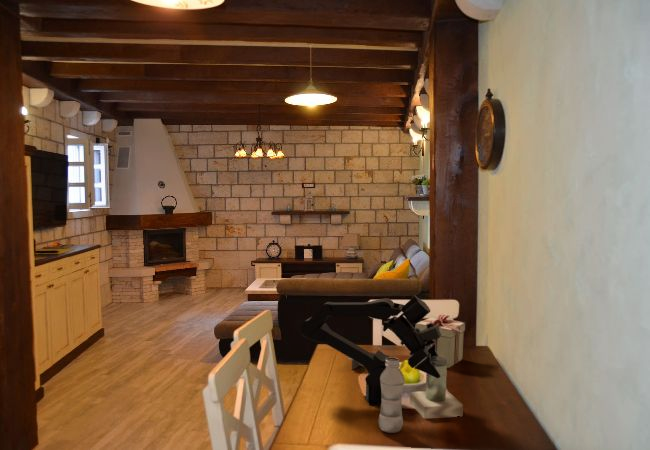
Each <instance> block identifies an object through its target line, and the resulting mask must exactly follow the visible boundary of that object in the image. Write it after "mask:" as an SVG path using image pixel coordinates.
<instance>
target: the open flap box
mask: <svg viewBox="0 0 650 450" xmlns="http://www.w3.org/2000/svg"><path fill="white" fill-rule="evenodd" d="M348 360H351V370H352V371H353V370H355V369H357V368H358V367H364V366H363V365H362V364H360V363H358V362H356V361H355V360H353V359H351V358H350V357H348Z"/></svg>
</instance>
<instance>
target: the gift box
mask: <svg viewBox="0 0 650 450" xmlns="http://www.w3.org/2000/svg"><path fill="white" fill-rule="evenodd" d="M448 318H450V315H446V314H439V316H438V317H437V318H436V317H429V318H427V319H424V320H423V319H422V320H420V321H419V322H418V323H415V327H414V328H415V329H416V328H418V329H419V330H420V331H422V330H424V329H427V325H428V324H429V323H433V324H434V325H437V326H438V327H439V331H440V333H441V335H440V338H438V339H435V340H436V341H435V343H436V352H437V354H438V356H439V357H444V358H446V359H447V369H450V368H451V367H453V366H454V365H456V364H458V363H459V362H461V361H462V360H463V354H464V353H463V351H464V350H463V349H464V335H465V331H466V322H467V321H466V322H465V321H459V320H453V319H448ZM435 343H432V345H433V344H435Z"/></svg>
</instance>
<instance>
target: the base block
mask: <svg viewBox="0 0 650 450" xmlns="http://www.w3.org/2000/svg"><path fill="white" fill-rule="evenodd" d="M409 395H410V396H409V397H410V398H409V404H410V403H411V404H412V405H413V406H414V407H415V408H414V407H413V406H412V405H411V404H410V405H411V406H412V407H413V408H414V409H415V411H417V412H418V414H419V415H420V416H421V417H422V419H424V420H427V419H440V418H442V419H444V418H454V417H455V418H458V417H457V416H460V417H463V414H464V412H463V411H464V404H463V403H462V402H461V401H460V400H458V399H457V398H456V397H455V396H454V395H453V394H452V393H450V392H449V391H448V390H447V389H446V400H445V401H442V402H434V401H430V400H428V399H426V390H424V391H423V390H422V391H410V393H409Z"/></svg>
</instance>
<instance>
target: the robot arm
mask: <svg viewBox="0 0 650 450" xmlns="http://www.w3.org/2000/svg"><path fill="white" fill-rule="evenodd" d="M429 313H431V309H430V307H429V306H428V304H427V303H426V302H425V301H424V300H422V299H421V298H419V297H418V296H417V295H416V294H414V295H413V296H412V297H411V298H410V300H408V301H407V302H406V303H405V304H402V303H397V302H394V300H392V299H390V298H389V297H388V298H386V297H385V298H379V299H375V300H370V301H366V302H364V301H363V302H356V301H354V302H353V301H351V302H349V301H347V302H334V301H333V302H332V301H327V302H325V303H324V304H322V305H321V306H320V308H319V309H318V310H317V311H316V312H315V313H314V314H313V315H312V316H310V317H309V318H307V319H305V320H304V321H303V322H302V323H301V324H300V327H299V328H300V329H299V331H300V334H301V335H302V337H304V338H305V339H308V340H311V341H313V342H319V343H323V344H325V345H327V346H329V347H331V348H333V349H334V350H336V351H337V352H339V353H341V354H343V355H344V356H347V357H348V358H349V357H350V358H351V359H353V360H355V361H356V362H358V363H360V364H362V365H363V366H362V367H364V369H365V370H366V372H368V374H367V375H366V376H365V379H364V381H365V395H364V396H363V397H364V398H363V399H364V400H365V401H366V403H367V404H368V405H369V406H374V405H375V406H376V405H381V402H382V396H381V383H380V377H381V374H382V372H383V371H384V370H385V368H386V366H385V363H386V358H389V357H390V355H387V354H385V353H383V352H382V351H381V350H379V349H378V350H377V351H376V352H370V351H368V350H367V349H364V348H363V347H361V346H359V345H357V344H355V343H354V342H353V341H351V340H348V339H347V338H346V337H344V336H342V335H340V334H338V333H337V332H335V331H333V330H332V329H331V328H330V327H329V325H328V324H327V323H326V321H328V319H329V318H330V317H331V316H343V317H344V316H350V317H351V316H355V317H356V316H358V317H361V316H363V317H368V318H372V319H376V320H380V321H383V322H382V324H383V326H382V327H383V328H382V331H383V332H386V331H387V330H388V329H390V330H391V332H392V333H393V334H394V335H395V336H396V337H397V338H398V339H399V341H400V345H401V346H405V348H407V350H408V351H409V355H410V356H409V357H408V358H407V365H408V366H410V368H411V369H413V368H414V370H418V371H420V372H423V373H425V374H426V373H427V374H429V375H431V376H433V377H436V378H440V374H439V373H438V371H437V369H436V368H435V367H434V365H433V364H432V362H431V356H438V354H437V352H436V343H435V341H436V340H435V339H438V338H440V335H441V333H440V331H439V327H438V326H437V325H434V324H433V323H429V324H428V325H427V329H424V330H422V331H420V330H419V329H418V328H416V329H415V327H414V326H413V325H412V324H416V323H419V322H421V321H422V320H423V319H424V318H425V317H426V316H427V315H429ZM398 315H399V316H398ZM390 317H391V318H390ZM388 319H389V320H388ZM387 320H388V321H387ZM432 343H435V344H433V345H432Z"/></svg>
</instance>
